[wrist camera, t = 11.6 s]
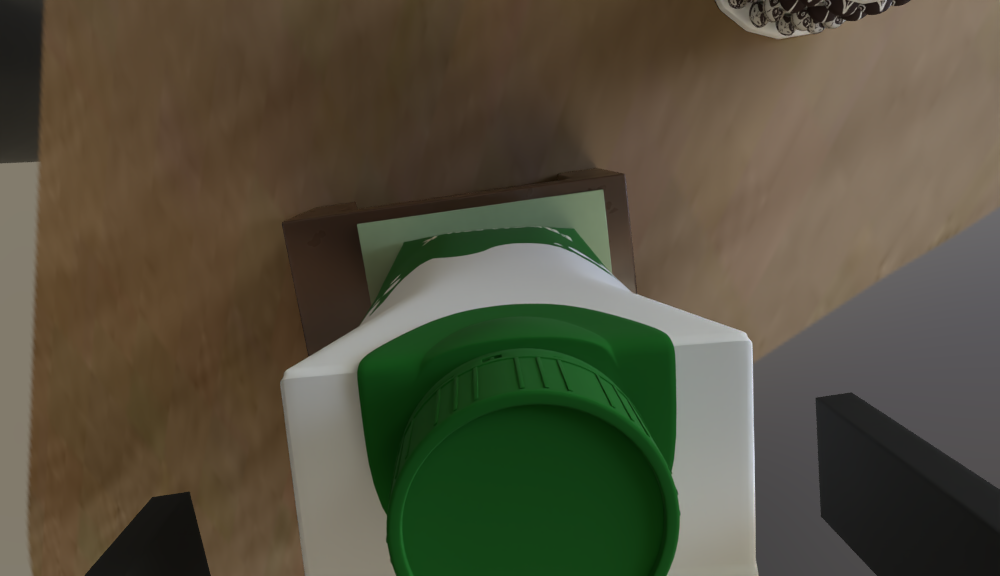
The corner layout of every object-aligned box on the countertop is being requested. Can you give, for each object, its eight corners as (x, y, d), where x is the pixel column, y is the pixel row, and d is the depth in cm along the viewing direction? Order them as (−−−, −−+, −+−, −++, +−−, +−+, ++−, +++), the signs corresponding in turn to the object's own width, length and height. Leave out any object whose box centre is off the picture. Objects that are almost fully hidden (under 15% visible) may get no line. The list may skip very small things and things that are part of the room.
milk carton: (595, 203, 29) (863, 332, 9) (605, 414, 31) (847, 898, 11) (377, 220, 28) (175, 390, 9) (400, 432, 30) (275, 958, 11)
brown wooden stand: (315, 207, 35) (279, 222, 28) (597, 167, 35) (626, 173, 29) (355, 416, 37) (330, 475, 31) (620, 378, 37) (651, 428, 31)
